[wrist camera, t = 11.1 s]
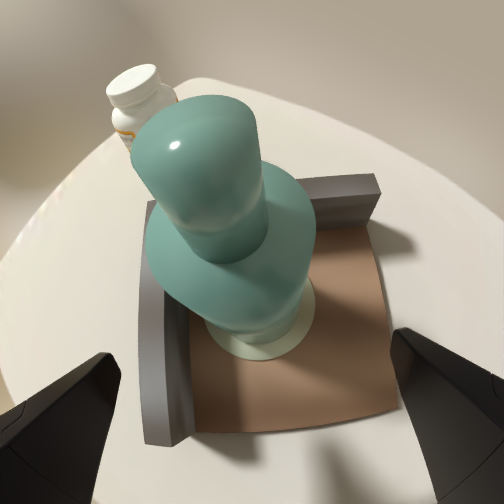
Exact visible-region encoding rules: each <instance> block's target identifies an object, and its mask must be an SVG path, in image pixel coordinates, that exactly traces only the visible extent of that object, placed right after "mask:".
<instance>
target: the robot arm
mask: <svg viewBox="0 0 504 504" xmlns="http://www.w3.org/2000/svg"><path fill="white" fill-rule="evenodd" d="M390 357H391V361H392V364H393V367H394V371H395V374H396V378H397V381H398V385H399V389H400V392H401V396H402V398H403V401H404V404H405V406H406V409H407V411H408V414H409V417H410V419H411V422H412V425H413V427H414V430H415V433H416V436H417V438H418V441H419V444H420V447H421V450H422V453H423V456H424V459H425V462H426V465H427V468H428V471H429V475H430V478H431V481H432V485H433V488H434V492H435V495H436V499H437V501H438V502H437V503H438V504H504V379H502V378H500V377H498V376H496V375H494V374H491V373H490V372H489V371H487V370H485V369H483V368H481V367H480V366H478V365H476V364H474V363H472V362H470V361H469V360H467V359H465V358H463V357H461V356H459V355H458V354H456V353H454V352H452V351H450V350H448V349H446V348H445V347H443V346H441V345H439V344H437V343H435V342H434V341H432V340H430V339H428V338H426V337H424V336H422V335H421V334H419V333H417V332H415V331H413V330H411V329H409V328H407V327H404V328H399V329H396V330H395V331H394V332H393V336H392V342H391V347H390ZM120 380H121V371H120V368H119V367H118V365H117V363H116V361H115V359H114V357H113V355H112V354H111V353H105V352H100V353H98V354H97V355H95V356H94V357H92V358H90V359H89V360H87V361H86V362H84V363H83V364H81V365H80V366H78V367H77V368H75V369H73V370H72V371H70V372H69V373H67V374H66V375H64V376H63V377H61V378H60V379H58V380H56V381H55V382H53V383H52V384H50V385H49V386H47V387H46V388H44V389H42V390H41V391H39V392H38V393H36V394H35V395H33V396H32V397H30V398H28V399H27V400H25V401H24V402H22V403H21V404H19V405H17V406H16V407H14V408H13V409H11V410H9V411H8V412H6V413H4V414H2V415H0V504H91V501H92V496H93V491H94V487H95V482H96V478H97V473H98V469H99V465H100V461H101V457H102V453H103V450H104V446H105V442H106V439H107V435H108V431H109V428H110V425H111V421H112V418H113V414H114V410H115V405H116V400H117V395H118V390H119V385H120Z"/></svg>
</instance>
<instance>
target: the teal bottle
mask: <svg viewBox="0 0 504 504" xmlns="http://www.w3.org/2000/svg"><path fill="white" fill-rule="evenodd" d="M130 158H131V163H132V166H133V168H134V169H135V171H136V172H137V174H138V175H139V177H140V178H141V180H142V181H143V182H144V184H145V185H146V187H147V188H148V190H149V191H150V193H151V194H152V195H153V197H154V198H155V200H156V201H157V203H156V205H155V207H154V209H153V211H152V213H151V215H150V218H149V221H148V225H147V229H146V235H145V249H146V256H147V260H148V264H149V267H150V269H151V271H152V274H153V275H154V277H155V279H156V280H157V282H158V283H159V284H160V286H161V287H162V288H163V289H164V290H165V291H166V292H167V293H168V294H169V295H171V296H172V297H173V298H174V299H176V300H177V301H179V302H180V303H182V304H183V305H185V306H186V307H188V308H189V309H191V310H192V311H194V312H195V313H197V314H198V315H200V316H201V317H203V318H204V319H206V320H207V321H209V322H211V323H212V324H214V325H215V326H217V327H218V328H220V329H222V330H223V331H225V332H226V333H228V334H230V335H231V336H233V337H235V338H236V339H238V340H240V341H242V342H245V343H248V344H255V345H262V344H268V343H271V342H274V341H276V340H278V339H280V338H281V337H283V336H284V335H285V334H287V333H288V331H289V330H290V329H291V328H292V326H293V325H294V323H295V321H296V319H297V316H298V313H299V309H300V305H301V301H302V297H303V292H304V288H305V284H306V280H307V275H308V271H309V266H310V262H311V257H312V253H313V248H314V243H315V237H316V219H315V213H314V209H313V206H312V203H311V201H310V199H309V197H308V195H307V193H306V192H305V190H304V189H303V187H302V186H301V185H300V184H299V183H298V182H297V180H296V179H294V178H293V177H292V176H291V175H290V174H289V173H287V172H285V171H284V170H282V169H281V168H279V167H277V166H275V165H273V164H270V163H267V162H264V161H261V155H260V147H259V140H258V133H257V126H256V120H255V116H254V114H253V112H252V111H251V109H250V108H249V107H248V106H247V105H246V104H244V103H243V102H241V101H239V100H237V99H235V98H232V97H228V96H223V95H202V96H196V97H192V98H188V99H184V100H181V101H179V102H176V103H174V104H172V105H170V106H168V107H166V108H164V109H163V110H161V111H160V112H158V113H157V114H155V115H154V116H153V117H152V118H151V119H149V120H148V121H147V122H146V123H145V124H144V125H143V127H142V128H141V129H140V130H139V132H138V133H137V135H136V137H135V139H134V141H133V144H132V147H131V152H130Z"/></svg>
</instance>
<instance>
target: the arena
mask: <svg viewBox="0 0 504 504" xmlns="http://www.w3.org/2000/svg"><path fill="white" fill-rule="evenodd" d="M296 180H297V182H298V183H299V184H300V185H301V186H302V187H303V189H304V190H305V192H306V193H307V195H308V197H309V199H310V201H311V203H312V206H313V209H314V213H315V219H316V237H315V243H314V248H313V253H312V257H311V262H310V266H309V271H308V275H307V280H306V284H305V288H304V292H303V297H302V301H301V305H300V309H299V313H298V316H297V319H296V321H295V323H294V325H293V326H292V328H291V329H290V330H289V331H288V333H287V334H285V335H284V336H283V337H281V338H280V339H278V340H276V341H274V342H271V343H268V344H262V345H255V344H248V343H245V342H242V341H240V340H238V339H236V338H235V337H233V336H231V335H230V334H228V333H226V332H225V331H223V330H222V329H220V328H218V327H217V326H215V325H214V324H212V323H211V322H209V321H207V320H206V319H204V318H203V317H201V316H200V315H198V314H197V313H195V312H194V311H192V310H191V309H189V308H188V307H186V306H185V305H183V304H182V303H180V302H179V301H177V300H176V299H174V298H173V297H172V296H171V295H169V294H168V293H167V292H166V291H165V290H164V289H163V288H162V287H161V286H160V284H159V283H158V282H157V280H156V279H155V277H154V275H153V274H152V271H151V269H150V267H149V264H148V260H147V256H146V249H145V235H146V229H147V225H148V221H149V218H150V215H151V213H152V211H153V209H154V207H155V205H156V203H157V201H156V200H152V201H148V202H147V210H146V217H145V226H144V235H143V245H142V257H141V270H140V287H139V314H138V357H139V384H140V400H141V412H142V423H143V432H144V441H145V444H149V445H156V446H164V447H173V446H175V445H176V444H178V443H180V442H181V441H183V440H184V439H186V438H188V437H189V436H191V435H192V434H194V433H195V432H208V433H237V432H261V431H275V430H286V429H295V428H303V427H311V426H317V425H324V424H330V423H335V422H341V421H346V420H351V419H355V418H360V417H364V416H369V415H373V414H377V413H381V412H384V411H388V410H392V409H395V408H398V404H397V391H396V380H395V371H394V367H393V364H392V361H391V357H390V347H391V340H390V333H389V327H388V321H387V315H386V310H385V304H384V299H383V294H382V289H381V285H380V280H379V276H378V271H377V267H376V263H375V259H374V255H373V251H372V247H371V243H370V239H369V236H368V232H367V228H366V225H367V223H368V221H369V218H370V216H371V214H372V212H373V210H374V208H375V206H376V204H377V202H378V200H379V197H380V195H381V191H380V188H379V186H378V183H377V180H376V178H375V175H374V173H372V174H354V175H339V176H326V177H314V178H304V179H296Z"/></svg>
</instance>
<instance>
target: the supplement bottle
mask: <svg viewBox="0 0 504 504" xmlns="http://www.w3.org/2000/svg"><path fill="white" fill-rule="evenodd" d="M106 93H107V95H108V97H109V99H110V101H111V104H112V105H113V106H114V107H115V108H114V110H113V113H112V122H113V125H114V127H115V129H116V131H117V132H118V134H119V136H120V137H121V139H122V141H123V142H124V144H125V146H126V147H127V149H128V150H129V152H131V147H132V144H133V141H134V139H135V137H136V135H137V133H138V132H139V130H140V129H141V128H142V127H143V125H144V124H145V123H146V122H147V121H148V120H149V119H151V118H152V117H153V116H154V115H155V114H157V113H158V112H160V111H161V110H163V109H164V108H166V107H168V106H170V105H172V104H174V103H176V102H178V99H177V96H176V93H175V92H174V90H173V89H172V88H171V87H169V86H168V85H165V84H162V83H161V77H160V75H159V73H158V70H157V68H156V67H155V66H154V65H151V64H145V65H140V66H136V67H134V68H131V69H129V70H127V71H125V72H123V73H122V74H121V75H119V76H118V77H116V78H115V79H114V80H113V81H112V82H111V83H110V84H109V85H108V87H107V90H106Z"/></svg>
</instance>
